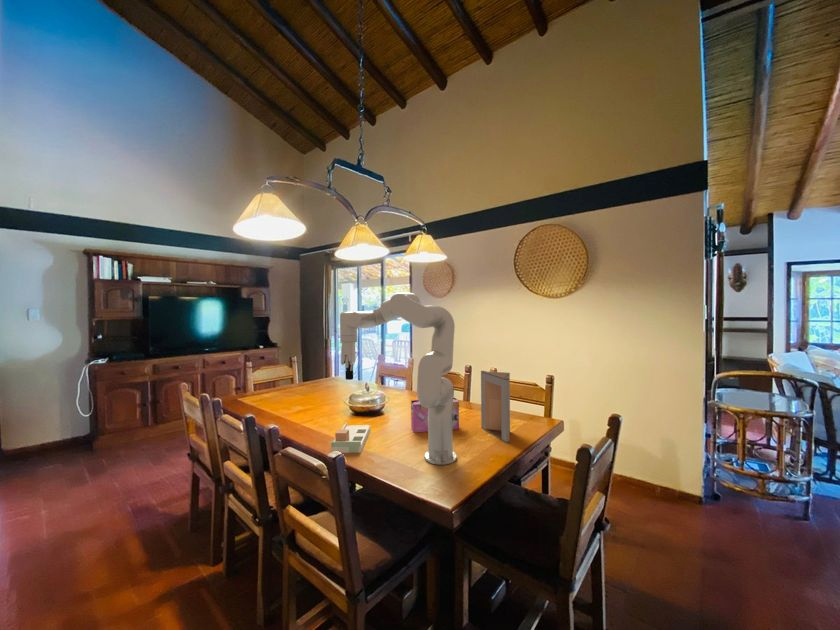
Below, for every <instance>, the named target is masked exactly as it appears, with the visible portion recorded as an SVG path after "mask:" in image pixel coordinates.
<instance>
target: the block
mask: <svg viewBox="0 0 840 630" xmlns="http://www.w3.org/2000/svg"><path fill="white" fill-rule="evenodd" d="M334 439H335V441H349V430H345V429H342V428H341V429H340V428H339V429H337V430H336V432H335V434H334Z"/></svg>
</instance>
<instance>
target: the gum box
mask: <svg viewBox="0 0 840 630" xmlns="http://www.w3.org/2000/svg"><path fill="white" fill-rule="evenodd" d="M410 412H411V413H410V418H411V419H410V427H411V431H412V433H425V432H427V433H428V408H425V407H423V406H422V405H421V404H420V402H419V400H418V399H416V400H415V399H414V400H410ZM453 430H460V401H459V400H457V398H455V397H454V398H453V407H452V431H453Z"/></svg>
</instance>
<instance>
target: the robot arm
mask: <svg viewBox="0 0 840 630" xmlns="http://www.w3.org/2000/svg"><path fill="white" fill-rule="evenodd" d="M339 314H340V315H339V333H340V334H339V340H340V341H339V342H340V343H341V350H340V351H341V352H340V364H341V366H343V365H344V366H345V367H344V368H345V369H344V372H345V380H346V381H347V380H348V381H349V380H351V381H352V380H353V379H354V363H355V362H356V356H357V355H356V343H357V342H358V329H366V328H373V327H374V328H375V327H378V326H381V325H383V324H386V323H389V322H390V321H391V322H392V321H393V320H397V319H399V318H401V319H403V320H404V321H406V322H408V323H409V324H411V325H412V326H414V327H417V328H420V329H428V328H433V329H434V330H433V334H432V337H431V347H430V349H431V350H430V352H428V353H426V354H424V355H423V356H422V357H421V358H420V360H419V363H418V367H417V380H416V381H417V383H416V396H417V400H419V402H420V404H421V405H422V406H423V407H425V408H428V432H427V433H428V434H427V435H428V436H427V438H428V439H427V441H428V442H427V443H428V445H427V446H428V447H427V448H428V451H426V452H425V453H424V460H425V461H426V462H427V463H430V464H433V465H438V466H442V465H443V466H445V465H450V464H453V463H454V462H456V461H457V459H458V456H457V455H458V454H456V452H455V451H453V446H454V444H453V442H454V441H453V439H454V438H453V430H452V407H453V398H455V389H454V385H453V383H452V382H451V380H450V379H449V378H447V377H444V376H445V375H446V374H449V373H450V372H451V370H452V369H453V363H454V362H453V361H454V360H453V359H454V339H455V328H456V327H455V320H454V317H453V315H452V314H451V313H450V311H449V310H447V309H446V308H444V307H443V306H439V305H424V304H421V299H420V298H419V296H418V295H416V294H415V293H412V292H402V291H401V292H396V293H394V294H393V295H391V297H390V299H387V300H384V301H383V302H381V304H380V307H379V308H376V309H372V310H363V311H362V310H361V311H359V310H357V311H343V312H340V313H339Z"/></svg>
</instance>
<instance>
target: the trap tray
mask: <svg viewBox="0 0 840 630" xmlns="http://www.w3.org/2000/svg"><path fill="white" fill-rule="evenodd" d="M341 429H345V430H349V441H335V438H334V439H333V440H332V441H331V443H330V445H331V446H330V447H331V450H330V451H331V453H332V451H339V452H341V453H340V454H354V453H355V454H357V453H358V454H360V453H362V451H363V448H364V446H365V443H366V441H367V439H368V436H369V435H370V432H371V425H370V424H369V425H367V424H365V425H363V424H362V425H361V424H360V425H357V424H356V425H355V424H354V425H348V423H347V422H345V423H344V425H343V426H342V427H341Z"/></svg>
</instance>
